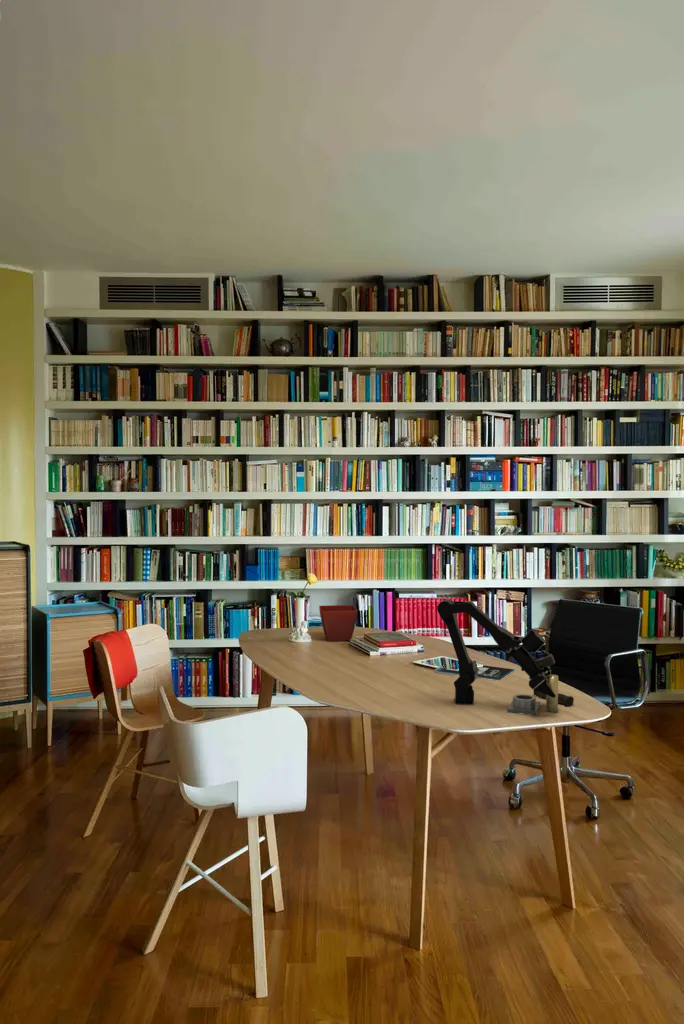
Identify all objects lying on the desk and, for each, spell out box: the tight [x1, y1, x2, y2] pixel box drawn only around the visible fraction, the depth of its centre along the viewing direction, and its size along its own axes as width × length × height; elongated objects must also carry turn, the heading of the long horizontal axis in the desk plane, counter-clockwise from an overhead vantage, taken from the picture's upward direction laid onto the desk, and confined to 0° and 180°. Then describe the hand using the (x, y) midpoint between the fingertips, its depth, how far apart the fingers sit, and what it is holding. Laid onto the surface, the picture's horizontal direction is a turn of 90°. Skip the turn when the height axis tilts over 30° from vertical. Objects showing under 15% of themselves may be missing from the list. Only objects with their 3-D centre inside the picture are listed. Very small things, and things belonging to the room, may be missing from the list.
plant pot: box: [318, 604, 358, 642], centre depth 412 cm, size 19×19×17 cm
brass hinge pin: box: [545, 674, 559, 714], centre depth 279 cm, size 4×4×13 cm
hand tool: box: [532, 689, 575, 708], centre depth 294 cm, size 19×4×5 cm, turn 28°
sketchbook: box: [433, 664, 515, 681], centre depth 340 cm, size 22×30×2 cm
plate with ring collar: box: [506, 693, 541, 716], centre depth 282 cm, size 10×14×4 cm
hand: (556, 693), depth 278 cm, fingers open, 9 cm apart
